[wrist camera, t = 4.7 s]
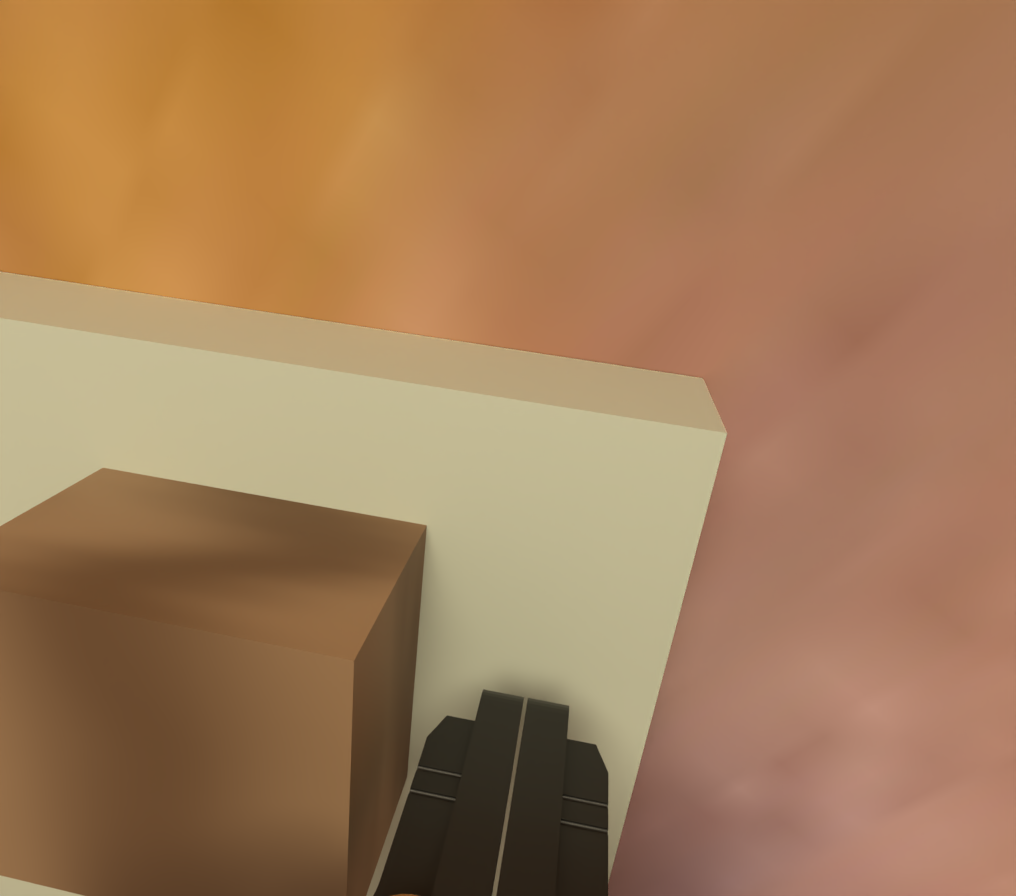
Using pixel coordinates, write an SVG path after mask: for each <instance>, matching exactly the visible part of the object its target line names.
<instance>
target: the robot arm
mask: <svg viewBox="0 0 1016 896" xmlns="http://www.w3.org/2000/svg"><path fill="white" fill-rule="evenodd" d="M523 701H524V697H521V696H516V695H510V694H505V693H500V692H495V691H490V690H485V689H483V691H482V695H481V699H480V703H479V707H478V711H477V715H476V719H475V721H473V720H468V719H463V718H458V717H453V716H448V715H447V716H446V717H445V718H444V719H443V720H442V721H441V722H440V723H439V724H438V725H437V727H436V728H435V729H434V730H433V731H432V732H431V733H430V734H429V735H428V736H427V738H426V742H425V745H424V748H423V751H422V754H421V757H420V760H419V763H418V767H417V770H416V772H415V775H414V778H413V781H412V784H411V787H410V792H409V794H408V796H407V799H406V803H405V806H404V809H403V812H402V815H401V818H400V821H399V824H398V827H397V830H396V833H395V836H394V839H393V842H392V845H391V848H390V851H389V854H388V857H387V860H386V863H385V867H384V870H383V873H382V876H381V879H380V882H379V884H378V887H377V889H376V892H375V893H374V895H373V896H492V892H493V886H494V880H495V874H496V868H497V862H498V856H499V850H500V844H501V838H502V832H503V826H504V820H505V814H506V807H507V801H508V795H509V789H510V783H511V777H512V771H513V764H514V758H515V752H516V745H517V739H518V733H519V726H520V720H521V714H522V707H523ZM568 719H569V705H563V704H558V703H553V702H548V701H543V700H538V699H532V698H528V700H527V706H526V712H525V719H524V725H523V731H522V737H521V743H520V750H519V756H518V762H517V768H516V775H515V781H514V787H513V793H512V800H511V806H510V812H509V818H508V825H507V831H506V837H505V844H504V850H503V856H502V862H501V869H500V875H499V881H498V888H497V894H496V896H608V771H607V768H606V766H605V764H604V762H603V759H602V757H601V755H600V752H599V750H598V748H597V746H596V744H591V743H586V742H581V741H575V740H570V739H567V732H568Z"/></svg>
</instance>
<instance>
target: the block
mask: <svg viewBox="0 0 1016 896" xmlns="http://www.w3.org/2000/svg"><path fill="white" fill-rule="evenodd" d="M426 529H427V525H423V524H417V523H412V522H406V521H400V520H395V519H389V518H383V517H378V516H372V515H367V514H361V513H355V512H350V511H344V510H338V509H333V508H327V507H322V506H316V505H310V504H305V503H299V502H294V501H288V500H282V499H277V498H271V497H265V496H260V495H254V494H249V493H243V492H237V491H232V490H226V489H220V488H215V487H209V486H204V485H198V484H192V483H187V482H181V481H176V480H170V479H164V478H159V477H153V476H147V475H142V474H136V473H131V472H125V471H119V470H114V469H108V468H101V469H100V470H98V471H96V472H94V473H93V474H91V475H89V476H87V477H86V478H84V479H82V480H80V481H79V482H77V483H75V484H73V485H72V486H70V487H68V488H66V489H65V490H63V491H61V492H59V493H58V494H56V495H54V496H52V497H51V498H49V499H47V500H45V501H43V502H42V503H40V504H38V505H36V506H35V507H33V508H31V509H29V510H28V511H26V512H24V513H22V514H21V515H19V516H17V517H15V518H14V519H12V520H10V521H8V522H7V523H5V524H3V525H1V526H0V875H1V876H5V877H9V878H13V879H17V880H21V881H26V882H30V883H34V884H38V885H42V886H46V887H50V888H55V889H59V890H63V891H67V892H71V893H75V894H79V895H84V896H366V895H367V892H368V889H369V886H370V883H371V880H372V877H373V874H374V872H375V869H376V866H377V863H378V860H379V857H380V854H381V851H382V848H383V845H384V843H385V840H386V837H387V834H388V831H389V828H390V825H391V822H392V819H393V816H394V814H395V811H396V808H397V805H398V802H399V799H400V796H401V793H402V790H403V787H404V784H405V782H406V779H407V773H408V760H409V747H410V734H411V721H412V709H413V696H414V683H415V670H416V657H417V644H418V632H419V619H420V606H421V593H422V580H423V567H424V555H425V542H426Z"/></svg>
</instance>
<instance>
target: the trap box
mask: <svg viewBox="0 0 1016 896" xmlns="http://www.w3.org/2000/svg"><path fill="white" fill-rule="evenodd" d="M726 436H727V432H726V429H725V427H724V425H723V423H722V420H721V418H720V416H719V414H718V411H717V409H716V407H715V405H714V402H713V400H712V398H711V395H710V393H709V391H708V389H707V386H706V384H705V382H704V380H703V378H699V377H692V376H685V375H679V374H672V373H666V372H659V371H652V370H646V369H639V368H633V367H626V366H620V365H613V364H606V363H600V362H593V361H587V360H580V359H573V358H567V357H560V356H554V355H547V354H540V353H534V352H527V351H521V350H514V349H507V348H501V347H494V346H488V345H481V344H474V343H468V342H461V341H455V340H448V339H442V338H435V337H428V336H422V335H415V334H409V333H402V332H395V331H389V330H382V329H376V328H369V327H362V326H356V325H349V324H343V323H336V322H329V321H323V320H316V319H310V318H303V317H297V316H290V315H283V314H277V313H270V312H264V311H257V310H250V309H244V308H237V307H231V306H224V305H217V304H211V303H204V302H198V301H191V300H184V299H178V298H171V297H165V296H158V295H151V294H145V293H138V292H132V291H125V290H119V289H112V288H105V287H99V286H92V285H86V284H79V283H72V282H66V281H59V280H53V279H46V278H39V277H33V276H26V275H20V274H13V273H6V272H0V526H1V525H3V524H5V523H7V522H8V521H10V520H12V519H14V518H15V517H17V516H19V515H21V514H22V513H24V512H26V511H28V510H29V509H31V508H33V507H35V506H36V505H38V504H40V503H42V502H43V501H45V500H47V499H49V498H51V497H52V496H54V495H56V494H58V493H59V492H61V491H63V490H65V489H66V488H68V487H70V486H72V485H73V484H75V483H77V482H79V481H80V480H82V479H84V478H86V477H87V476H89V475H91V474H93V473H94V472H96V471H98V470H100V469H101V468H108V469H114V470H119V471H125V472H131V473H136V474H142V475H147V476H153V477H159V478H164V479H170V480H176V481H181V482H187V483H192V484H198V485H204V486H209V487H215V488H220V489H226V490H232V491H237V492H243V493H249V494H254V495H260V496H265V497H271V498H277V499H282V500H288V501H294V502H299V503H305V504H310V505H316V506H322V507H327V508H333V509H338V510H344V511H350V512H355V513H361V514H367V515H372V516H378V517H383V518H389V519H395V520H400V521H406V522H412V523H417V524H423V525H427V529H426V542H425V555H424V567H423V580H422V593H421V606H420V619H419V632H418V644H417V657H416V670H415V683H414V696H413V709H412V721H411V734H410V747H409V760H408V773H407V779H406V782H405V784H404V787H403V790H402V793H401V796H400V799H399V802H398V805H397V808H396V811H395V814H394V816H393V819H392V822H391V825H390V828H389V831H388V834H387V837H386V840H385V843H384V845H383V848H382V851H381V854H380V857H379V860H378V863H377V866H376V869H375V872H374V874H373V877H372V880H371V883H370V886H369V889H368V892H367V895H366V896H373V895H374V893H375V892H376V889H377V887H378V884H379V882H380V879H381V876H382V873H383V870H384V867H385V863H386V860H387V857H388V854H389V851H390V848H391V845H392V842H393V839H394V836H395V833H396V830H397V827H398V824H399V821H400V818H401V815H402V812H403V809H404V806H405V803H406V799H407V796H408V794H409V792H410V787H411V784H412V781H413V778H414V775H415V772H416V770H417V767H418V763H419V760H420V757H421V754H422V751H423V748H424V745H425V742H426V738H427V736H428V735H429V734H430V733H431V732H432V731H433V730H434V729H435V728H436V727H437V725H438V724H439V723H440V722H441V721H442V720H443V719H444V718H445V717H446V716H447V715H448V716H453V717H458V718H463V719H468V720H473V721H475V719H476V715H477V711H478V707H479V703H480V699H481V695H482V691H483V689H485V690H490V691H495V692H500V693H505V694H510V695H516V696H521V697H524V701H523V707H522V714H521V720H520V726H519V733H518V739H517V745H516V752H515V758H514V764H513V771H512V777H511V783H510V789H509V795H508V801H507V807H506V814H505V820H504V826H503V832H502V838H501V844H500V850H499V856H498V862H497V868H496V874H495V880H494V886H493V892H492V896H496V894H497V888H498V881H499V875H500V869H501V862H502V856H503V850H504V844H505V837H506V831H507V825H508V818H509V812H510V806H511V800H512V793H513V787H514V781H515V775H516V768H517V762H518V756H519V750H520V743H521V737H522V731H523V725H524V719H525V712H526V706H527V700H528V698H532V699H538V700H543V701H548V702H553V703H558V704H563V705H569V719H568V732H567V739H570V740H575V741H581V742H586V743H591V744H596V746H597V748H598V750H599V752H600V755H601V757H602V759H603V762H604V764H605V766H606V768H607V771H608V882H609V878H610V874H611V871H612V867H613V863H614V859H615V855H616V852H617V848H618V844H619V840H620V837H621V833H622V829H623V825H624V821H625V818H626V814H627V810H628V806H629V803H630V799H631V795H632V791H633V787H634V784H635V780H636V776H637V772H638V768H639V765H640V761H641V757H642V753H643V750H644V746H645V742H646V738H647V734H648V731H649V727H650V723H651V719H652V715H653V712H654V708H655V704H656V700H657V697H658V693H659V689H660V685H661V681H662V678H663V674H664V670H665V666H666V663H667V659H668V655H669V651H670V647H671V644H672V640H673V636H674V632H675V628H676V625H677V621H678V617H679V613H680V610H681V606H682V602H683V598H684V594H685V591H686V587H687V583H688V579H689V576H690V572H691V568H692V564H693V560H694V557H695V553H696V549H697V545H698V541H699V538H700V534H701V530H702V526H703V523H704V519H705V515H706V511H707V507H708V504H709V500H710V496H711V492H712V488H713V485H714V481H715V477H716V473H717V470H718V466H719V462H720V458H721V454H722V451H723V447H724V443H725V439H726ZM0 896H84V895H79V894H75V893H71V892H67V891H63V890H59V889H55V888H50V887H46V886H42V885H38V884H34V883H30V882H26V881H21V880H17V879H13V878H9V877H5V876H1V875H0Z"/></svg>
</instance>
